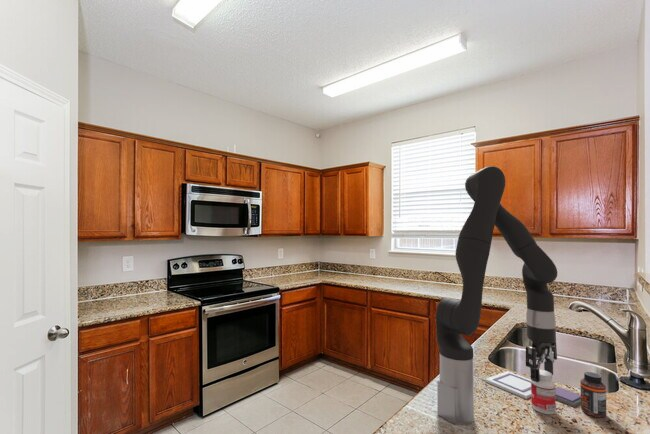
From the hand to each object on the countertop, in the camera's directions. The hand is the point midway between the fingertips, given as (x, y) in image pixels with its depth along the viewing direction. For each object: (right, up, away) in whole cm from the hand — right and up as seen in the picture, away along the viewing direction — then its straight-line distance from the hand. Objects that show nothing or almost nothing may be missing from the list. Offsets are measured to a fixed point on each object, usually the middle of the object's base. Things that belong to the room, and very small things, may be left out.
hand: (542, 377), depth 99 cm
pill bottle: (0, -9, -1) cm, 9 cm away
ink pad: (+12, -10, +6) cm, 16 cm away
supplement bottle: (+14, -10, -3) cm, 17 cm away
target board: (+1, -10, +15) cm, 18 cm away
